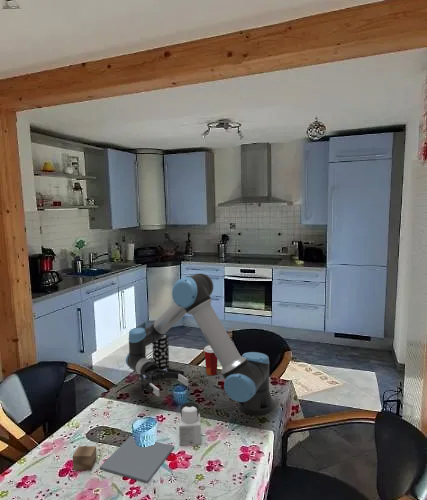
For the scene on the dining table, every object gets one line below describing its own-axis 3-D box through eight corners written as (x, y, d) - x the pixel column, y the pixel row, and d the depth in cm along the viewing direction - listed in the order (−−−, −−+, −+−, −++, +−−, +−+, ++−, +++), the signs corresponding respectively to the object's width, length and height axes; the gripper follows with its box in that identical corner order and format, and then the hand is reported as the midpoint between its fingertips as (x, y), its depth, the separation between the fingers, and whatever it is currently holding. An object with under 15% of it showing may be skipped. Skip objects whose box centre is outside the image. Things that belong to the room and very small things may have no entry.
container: (179, 433, 137) (179, 400, 136) (200, 432, 138) (199, 399, 136) (179, 446, 129) (178, 411, 128) (200, 444, 130) (200, 410, 129)
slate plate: (174, 448, 128) (174, 446, 128) (147, 483, 111) (147, 480, 111) (131, 437, 135) (131, 435, 134) (99, 469, 118) (99, 466, 118)
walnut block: (96, 460, 122) (96, 446, 122) (91, 470, 117) (90, 456, 117) (79, 460, 123) (78, 446, 122) (73, 470, 118) (72, 456, 117)
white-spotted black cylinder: (171, 371, 192) (171, 334, 191) (164, 377, 185) (163, 339, 183) (157, 369, 195) (157, 333, 193) (150, 375, 187) (149, 338, 185)
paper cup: (219, 370, 193) (219, 345, 191) (218, 376, 185) (217, 350, 184) (204, 369, 193) (204, 344, 192) (203, 376, 186) (202, 349, 185)
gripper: (171, 370, 167) (198, 387, 150) (121, 385, 151) (145, 407, 135) (171, 354, 166) (198, 370, 150) (121, 368, 151) (145, 387, 134)
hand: (173, 387), depth 142 cm, fingers open, 13 cm apart
